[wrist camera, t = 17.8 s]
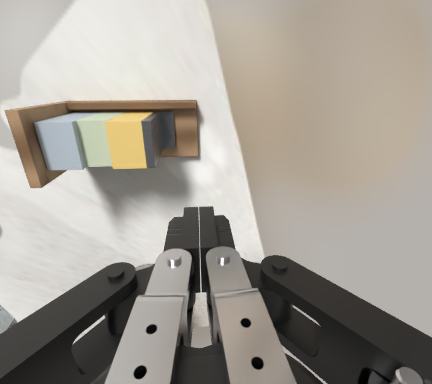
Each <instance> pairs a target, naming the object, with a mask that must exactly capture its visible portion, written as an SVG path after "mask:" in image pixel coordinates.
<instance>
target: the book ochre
mask: <svg viewBox="0 0 432 384" xmlns="http://www.w3.org/2000/svg"><path fill="white" fill-rule="evenodd" d="M152 113H153V112H126V113H124V114H121V115H119V116H117V117H115V118H112V119H110V120H108V121H105V128H106V133H107V139H108V144H109V150H110V155H111V161H112V167H113V169H138V168H147V165H146V157H145V149H144V141H143V133H142V124H141V121H142V120H143V119H145V118H146V117H147V116H149V115H150V114H152Z"/></svg>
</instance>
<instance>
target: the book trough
mask: <svg viewBox="0 0 432 384" xmlns="http://www.w3.org/2000/svg"><path fill="white" fill-rule="evenodd" d="M154 111H173V112H174V127H175V141H176V148H171V149H164V150H163V152H162V155H161V157H171V156H198V140H197V110H196V100H139V101H64V102H57V103H51V104H44V105H37V106H31V107H24V108H17V109H11V110H5V113H6V116H7V119H8V122H9V125H10V128H11V131H12V134H13V137H14V140H15V143H16V146H17V149H18V152H19V155H20V158H21V161H22V164H23V167H24V170H25V173H26V176H27V179H28V182H29V185H30V188H42V187H43V186H45V185H46V184H48V183H49V182H51V181H52V180H54V179H55V178H57V177H58V176H59V175H61V174H62V173H64V172H65V171H67V170H47V166H46V163H45V160H44V156H43V153H42V149H41V146H40V143H39V139H38V136H37V132H36V129H35V126H34V122H38V121H42V120H46V119H50V118H54V117H58V116H62V115H65V114H69V113H73V112H154Z"/></svg>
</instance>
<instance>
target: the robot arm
mask: <svg viewBox="0 0 432 384" xmlns="http://www.w3.org/2000/svg"><path fill="white" fill-rule="evenodd" d="M199 214H200V249H199V217H198V207H185V208H184V215H183V217H174V218H173V219H172V220H171V221H170V222H169V226H168V231H167V236H166V241H165V246H164V251H163V253H161V254H160V255H159V256H158V258H157V260H156V263H155V264H147V265H142V266H139V267H137V268H135V267H134V266H133V265H132V264H129V263H124V262H120V263H115V264H111V265H109V266H107V267H105V268H103V269H102V270H100V271H99V272H97V273H96V274H94V275H92V276H91V277H89V278H88V279H86V280H85V281H83V282H81V283H80V284H78V285H77V286H75V287H74V288H72V289H70V290H69V291H67V292H66V293H64V294H63V295H61V296H59V297H58V298H56V299H55V300H53V301H51V302H50V303H48V304H47V305H45V306H44V307H42V308H40V309H39V310H37V311H36V312H34V313H33V314H31V315H29V316H28V317H26V318H25V319H23V320H22V321H20V322H18V323H17V324H15V325H14V326H12V327H11V328H9V329H7V330H6V331H4V332H3V333H1V334H0V384H323V383H322V382H321V381H320V380H319V379H318V378H316V377H315V376H314V375H313V374H312V373H311V372H310V371H309V370H307V369H306V368H305V367H304V366H303V365H302V364H301V363H299V362H298V361H296V360H295V359H294V358H292V357H290V356H289V355H287V354H285V353H284V351H283V348H282V346H281V345H283V346H284V347H285V348H286V349H287V350H289V351H290V352H291V353H292V354H293V355H294V356H296V357H297V358H298V359H299V360H300V361H302V362H303V363H304V364H305V365H306V366H308V367H309V368H310V369H311V370H312V371H313V372H315V373H316V374H317V375H318V376H319V377H320V378H322V379H323V380H324V381H325V382H326V383H328V384H432V337H430V336H428V335H426V334H424V333H423V332H421V331H419V330H417V329H415V328H413V327H412V326H410V325H408V324H406V323H404V322H403V321H401V320H399V319H397V318H395V317H394V316H392V315H390V314H388V313H386V312H385V311H382V310H381V309H379V308H377V307H376V306H374V305H372V304H370V303H368V302H366V301H365V300H363V299H361V298H359V297H357V296H356V295H354V294H352V293H350V292H348V291H347V290H345V289H343V288H341V287H339V286H338V285H336V284H334V283H332V282H330V281H329V280H327V279H325V278H323V277H321V276H320V275H318V274H316V273H314V272H312V271H310V270H308V269H306V268H305V267H303V266H301V265H300V264H298V263H296V262H294V261H292V260H290V259H289V258H286V257H284V256H278V255H273V256H268V257H266V258H264V259H263V260H262V262H261V264H259V263H253V262H249V261H246V260H244V259H243V258H241V257H240V254H239V253H238V252H237V251H236V250H235V245H234V241H233V237H232V232H231V228H230V224H229V220H228V219H227V218H226V217H225V216H224V215H218V216H214V210H213V206H212V207H199ZM200 253H201V281H202V292H206V293H207V312H208V319H209V326H210V334H211V341H212V345H210V346H207V347H204V348H193V347H191V339H192V329H193V319H194V304H195V297H196V293H199V292H200ZM293 305H294V306H296V307H297V308H299V309H300V310H302V311H303V312H304V313H306V314H307V315H309V316H310V317H312V318H313V319H314V320H316V321H317V322H318V323H319V325H320V326H321V327H320V326H319V325H317V324H316V323H314V322H313V321H312V320H310V319H309V318H307V317H306V316H305V315H303V314H302V313H300V312H299V311H297V310H296V309H294V308H293ZM103 315H105V319H104V320H102V321H101V322H100V323H99V324H97V325H96V326H95V327H94V328H92V329H91V330H90V331H89V332H88V333H86V334H85V335H84V336H83V337H81V338H80V339H79V340H78V341H76V342H75V343H74V344H73V342H74V340H75V339H76V338H77V337H78V336H79V335H80V334H81V333H82V332H83V331H85V330H86V329H87V328H88V327H90V326H91V325H92V324H93V323H95V322H96V321H97V320H98V319H100V318H101V317H102V316H103ZM72 344H73V345H72Z"/></svg>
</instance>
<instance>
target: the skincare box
mask: <svg viewBox="0 0 432 384" xmlns="http://www.w3.org/2000/svg"><path fill="white" fill-rule="evenodd" d="M13 320H14V318H13V317H12V316H11V315H10V314H9V313H8V312H7V311H5V310H4V309H3V308H2V307H1V306H0V334H1V333H3V332H4V331H6V330H7V329H8V327H9V326H10V324H11V323H12V322H13Z"/></svg>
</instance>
